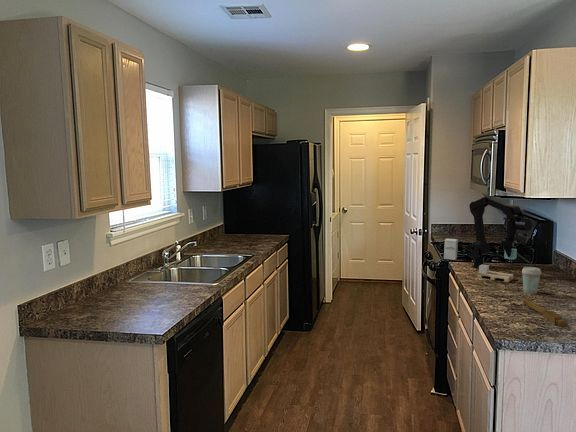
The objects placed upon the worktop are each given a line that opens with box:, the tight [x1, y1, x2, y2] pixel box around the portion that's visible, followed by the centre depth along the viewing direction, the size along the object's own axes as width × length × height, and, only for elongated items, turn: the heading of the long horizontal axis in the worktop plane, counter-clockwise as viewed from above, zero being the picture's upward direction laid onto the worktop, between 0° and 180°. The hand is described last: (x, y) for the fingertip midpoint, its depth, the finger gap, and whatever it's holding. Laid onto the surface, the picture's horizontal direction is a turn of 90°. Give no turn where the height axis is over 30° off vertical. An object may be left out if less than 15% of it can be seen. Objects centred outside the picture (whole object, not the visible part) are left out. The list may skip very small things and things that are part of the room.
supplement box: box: [443, 237, 459, 261], centre depth 308 cm, size 7×7×13 cm
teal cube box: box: [503, 248, 518, 260], centre depth 264 cm, size 5×5×5 cm
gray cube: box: [478, 264, 490, 274], centre depth 261 cm, size 4×4×4 cm
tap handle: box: [522, 297, 567, 328], centre depth 200 cm, size 3×3×30 cm
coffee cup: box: [521, 266, 542, 295], centre depth 231 cm, size 8×8×12 cm
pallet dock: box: [476, 270, 514, 283], centre depth 259 cm, size 9×16×2 cm, turn 49°
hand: (510, 256), depth 264 cm, fingers closed on teal cube box, 5 cm apart
